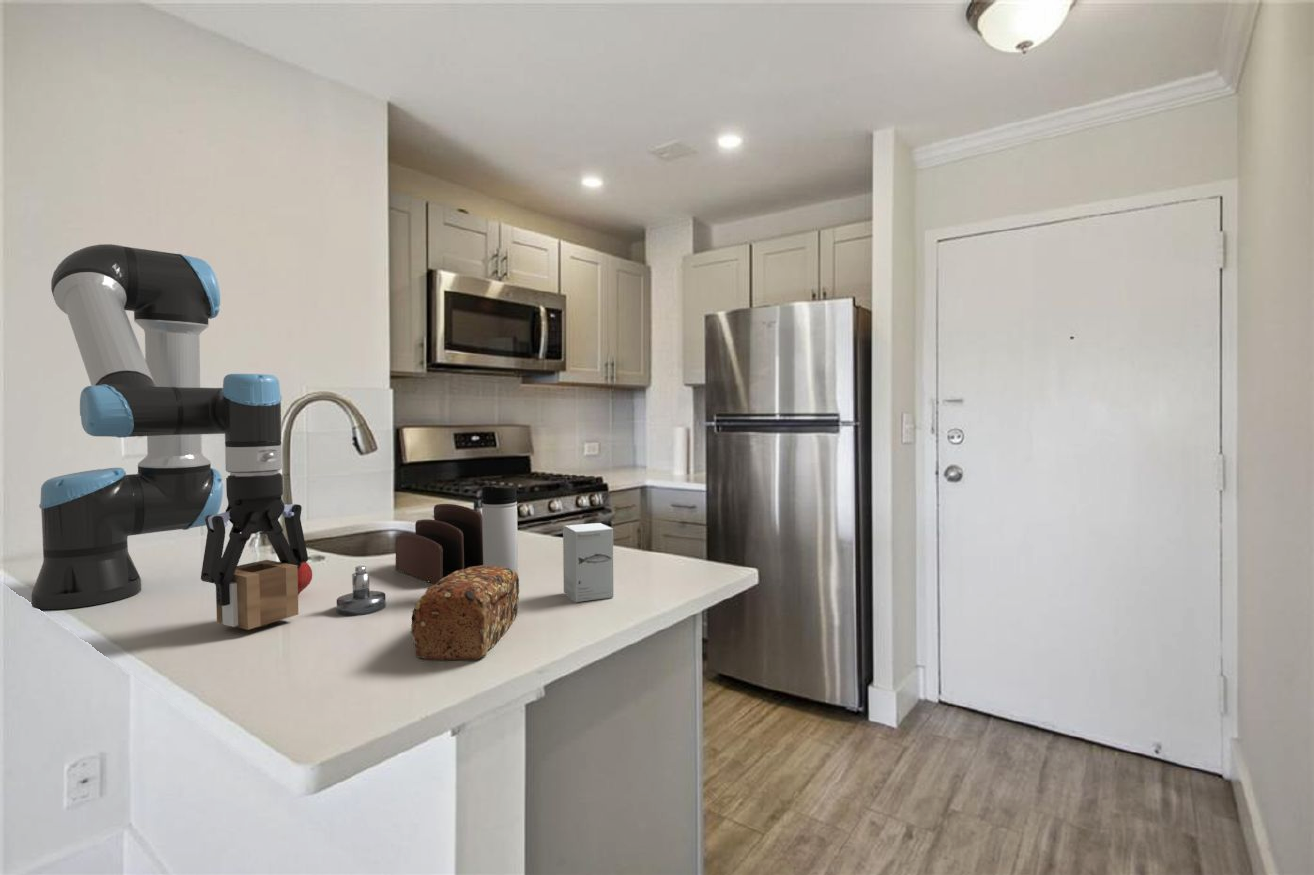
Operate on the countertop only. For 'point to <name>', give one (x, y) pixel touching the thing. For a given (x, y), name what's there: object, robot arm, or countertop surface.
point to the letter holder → (442, 543)
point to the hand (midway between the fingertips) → (259, 616)
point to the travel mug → (500, 527)
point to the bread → (465, 613)
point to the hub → (361, 596)
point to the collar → (264, 593)
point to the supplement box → (588, 561)
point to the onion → (304, 576)
